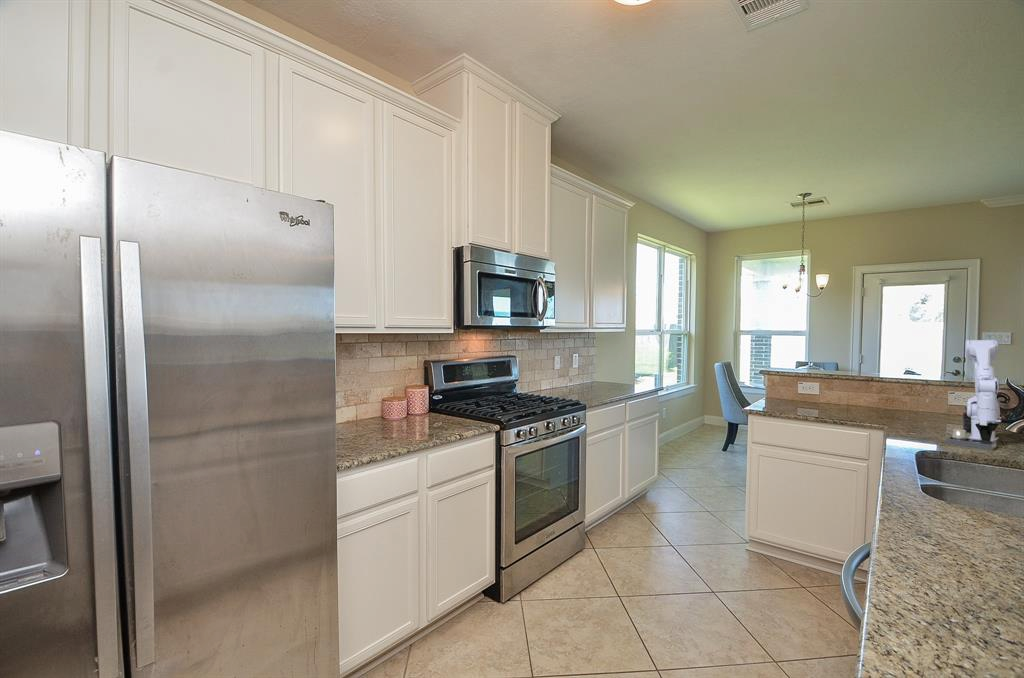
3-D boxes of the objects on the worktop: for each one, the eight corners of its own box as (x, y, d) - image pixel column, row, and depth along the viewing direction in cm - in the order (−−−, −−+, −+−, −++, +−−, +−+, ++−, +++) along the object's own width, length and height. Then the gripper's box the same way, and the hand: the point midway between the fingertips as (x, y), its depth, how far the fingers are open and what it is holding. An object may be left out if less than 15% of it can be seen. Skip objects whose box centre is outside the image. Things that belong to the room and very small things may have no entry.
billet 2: (981, 443, 188) (981, 429, 188) (995, 445, 185) (994, 430, 185) (979, 444, 186) (979, 430, 186) (993, 446, 183) (992, 431, 183)
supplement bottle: (974, 431, 215) (974, 406, 215) (987, 433, 208) (987, 408, 208) (958, 430, 216) (958, 405, 216) (971, 433, 209) (971, 408, 209)
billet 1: (953, 442, 188) (953, 428, 188) (967, 444, 185) (967, 429, 185) (951, 443, 186) (951, 429, 186) (965, 445, 183) (965, 431, 183)
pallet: (951, 442, 191) (951, 436, 191) (996, 448, 180) (996, 441, 180) (945, 444, 186) (945, 438, 186) (991, 451, 175) (991, 444, 175)
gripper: (997, 410, 178) (997, 445, 178) (1004, 408, 187) (1004, 440, 186) (972, 408, 184) (972, 441, 184) (979, 406, 192) (980, 437, 192)
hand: (987, 441), depth 185 cm, fingers closed on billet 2, 4 cm apart
